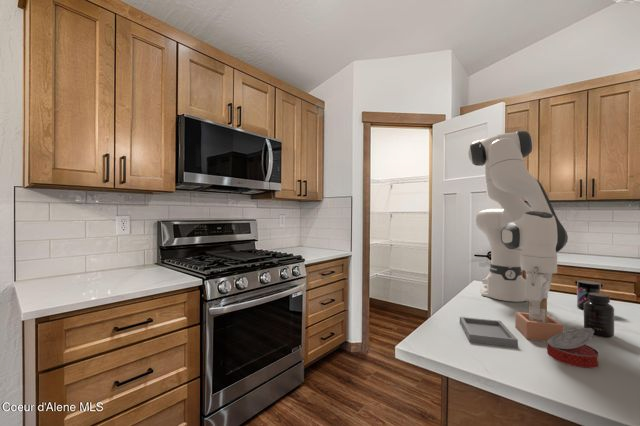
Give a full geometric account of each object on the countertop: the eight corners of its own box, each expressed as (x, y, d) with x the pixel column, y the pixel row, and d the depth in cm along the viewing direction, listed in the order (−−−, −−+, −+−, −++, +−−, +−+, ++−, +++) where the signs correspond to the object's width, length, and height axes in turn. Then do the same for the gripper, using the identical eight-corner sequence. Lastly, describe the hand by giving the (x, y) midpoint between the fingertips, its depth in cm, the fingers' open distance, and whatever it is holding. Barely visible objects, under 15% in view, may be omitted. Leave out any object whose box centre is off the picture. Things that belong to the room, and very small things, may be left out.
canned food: (586, 388, 70) (580, 356, 67) (540, 363, 79) (533, 335, 76) (612, 359, 73) (607, 328, 70) (565, 339, 82) (559, 310, 79)
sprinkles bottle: (549, 335, 88) (550, 290, 88) (543, 339, 86) (544, 292, 86) (532, 330, 92) (532, 287, 92) (525, 333, 90) (526, 289, 90)
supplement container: (579, 305, 119) (579, 279, 119) (602, 309, 114) (602, 282, 114) (574, 308, 115) (574, 281, 115) (597, 313, 110) (598, 285, 110)
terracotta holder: (515, 327, 94) (515, 311, 94) (548, 330, 92) (548, 314, 92) (526, 338, 86) (526, 321, 86) (563, 343, 83) (563, 325, 83)
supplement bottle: (584, 327, 95) (584, 290, 95) (614, 333, 90) (614, 294, 90) (582, 333, 90) (583, 294, 91) (614, 340, 86) (614, 298, 86)
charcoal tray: (459, 322, 98) (459, 316, 98) (500, 327, 95) (500, 320, 95) (469, 341, 84) (469, 334, 84) (517, 347, 80) (517, 339, 80)
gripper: (546, 271, 79) (546, 322, 79) (555, 262, 94) (555, 306, 94) (518, 268, 84) (518, 316, 84) (531, 260, 98) (531, 301, 98)
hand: (537, 311), depth 89 cm, fingers closed on sprinkles bottle, 4 cm apart
